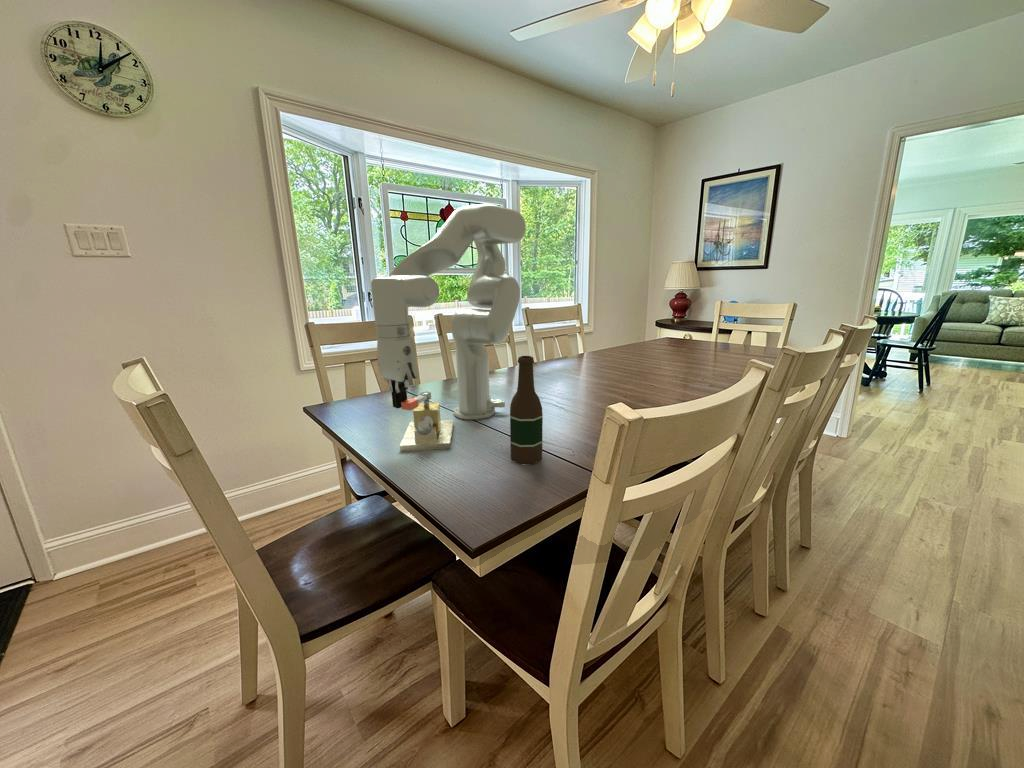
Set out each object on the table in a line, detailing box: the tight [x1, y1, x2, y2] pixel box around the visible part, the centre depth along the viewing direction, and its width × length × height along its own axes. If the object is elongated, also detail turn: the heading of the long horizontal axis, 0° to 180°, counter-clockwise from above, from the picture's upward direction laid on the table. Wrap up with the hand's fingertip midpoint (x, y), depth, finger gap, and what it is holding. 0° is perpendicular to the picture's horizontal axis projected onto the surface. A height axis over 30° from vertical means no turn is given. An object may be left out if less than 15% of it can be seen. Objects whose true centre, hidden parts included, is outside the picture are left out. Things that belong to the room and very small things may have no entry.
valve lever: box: [401, 391, 432, 411], centre depth 98 cm, size 10×3×2 cm, turn 160°
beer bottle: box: [509, 355, 544, 465], centre depth 89 cm, size 8×8×24 cm
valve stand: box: [399, 399, 454, 452], centre depth 103 cm, size 12×16×10 cm
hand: (400, 406), depth 97 cm, fingers closed
